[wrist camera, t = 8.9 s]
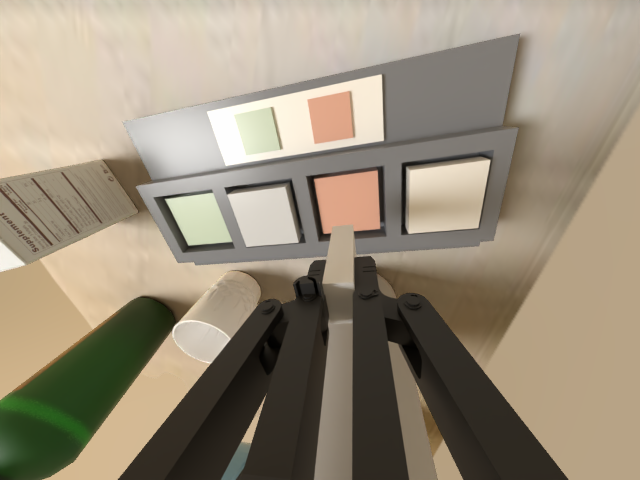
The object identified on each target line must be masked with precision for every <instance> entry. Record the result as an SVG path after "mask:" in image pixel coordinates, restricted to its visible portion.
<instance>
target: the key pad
mask: <svg viewBox="0 0 640 480" xmlns="http://www.w3.org/2000/svg"><path fill="white" fill-rule="evenodd" d="M519 37H520V34H516V35H511V36H507V37H502V38H498V39H493V40H489V41H484V42H480V43H475V44H471V45H466V46H462V47H457V48H453V49H448V50H444V51H439V52H435V53H430V54H426V55H421V56H417V57H412V58H408V59H403V60H399V61H394V62H390V63H385V64H381V65H376V66H372V67H367V68H363V69H358V70H354V71H349V72H345V73H340V74H336V75H331V76H327V77H322V78H318V79H313V80H309V81H304V82H300V83H295V84H291V85H286V86H282V87H277V88H273V89H268V90H264V91H259V92H255V93H250V94H246V95H241V96H237V97H232V98H228V99H223V100H219V101H214V102H210V103H205V104H201V105H196V106H192V107H187V108H183V109H178V110H174V111H169V112H165V113H160V114H156V115H151V116H147V117H142V118H138V119H133V120H129V121H124V122H122V123H123V125H124V127H125V129H126V130H127V132H128V134H129V136H130V138H131V140H132V142H133V144H134V146H135V148H136V150H137V152H138V154H139V156H140V158H141V160H142V162H143V164H144V166H145V168H146V170H147V171H148V173H149V175H150V177H151V179H152V181H149V182H146V183H144V184H141V185H138V186H136V188H137V190H138V192H139V194H140V195H141V197H142V199H143V201H144V203H145V204H146V206H147V208H148V210H149V212H150V213H151V215H152V217H153V219H154V221H155V222H156V224H157V226H158V228H159V230H160V231H161V233H162V235H163V237H164V239H165V241H166V242H167V244H168V246H169V248H170V250H171V251H172V253H173V255H174V257H175V259H176V260H177V262H178V263H186V262H194V263H195V265H208V264H223V263H237V262H252V261H267V260H282V259H297V258H311V257H326V256H327V254H328V249H329V243H330V238H331V233H328V234H324V233H323V228H322V222H321V216H320V211H319V205H318V199H317V194H316V188H315V182H314V178H315V177H316V175H321V174H328V173H335V172H343V171H350V170H357V169H364V168H371V167H376V168H377V170H378V190H379V213H380V229H373V230H362V231H354V238H355V247H356V254H371V253H385V252H400V251H415V250H430V249H445V248H460V247H474V246H479V245H480V242H483V241H494V236H495V232H496V227H497V223H498V218H499V214H500V209H501V205H502V200H503V196H504V191H505V187H506V183H507V178H508V174H509V169H510V165H511V160H512V156H513V151H514V147H515V142H516V138H517V133H518V129H519V127H508V126H502V125H503V120H504V115H505V110H506V104H507V99H508V94H509V89H510V84H511V78H512V73H513V68H514V63H515V58H516V52H517V47H518V42H519ZM480 156H481V157H484V158H487V159H490V166H489V171H488V177H487V182H486V188H485V193H484V199H483V204H482V210H481V215H480V221H479V226H478V228H474V229H461V230H449V231H437V232H424V233H412V234H409V233H408V231H407V229H406V227H405V218H406V166H414V165H421V164H428V163H436V162H443V161H450V160H458V159H465V158H473V157H480ZM288 182H289V183H290V187H291V191H292V196H293V200H294V204H295V209H296V213H297V218H298V222H299V226H300V231H301V235H302V236H301V238H300V241H299V243H289V244H277V245H265V246H252V247H246V245H245V242H244V239H243V236H242V234H241V231H240V228H239V226H238V223H237V220H236V217H235V215H234V212H233V209H232V207H231V204H230V201H229V198H228V196H227V194H229V193H230V192H232V191H233V190H237V189H244V188H251V187H259V186H266V185H274V184H281V183H288ZM206 190H212V191H213V194H214V196H215V199H216V201H217V204H218V206H219V209H220V211H221V214H222V216H223V219H224V221H225V224H226V226H227V229H228V232H229V234H230V237H231V239H232V242H224V243H213V244H201V245H190V246H188V244H187V242H186V240H185V238H184V236H183V234H182V232H181V230H180V228H179V226H178V224H177V222H176V220H175V218H174V216H173V214H172V212H171V210H170V208H169V206H168V204H167V202H166V200H165V199H167V198H169V197H171V196H173V195H177V194H184V193H191V192H198V191H206Z"/></svg>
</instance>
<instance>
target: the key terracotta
mask: <svg viewBox="0 0 640 480" xmlns="http://www.w3.org/2000/svg"><path fill="white" fill-rule="evenodd" d="M314 182H315V188H316V194H317V199H318V205H319V211H320V216H321V222H322V228H323V233H324V234H328V233H331V232H332V227H333V226H342V225H352V224H353V228H354V231H362V230H373V229H380V213H379V190H378V170H377V168H376V167H371V168H364V169H357V170H350V171H343V172H335V173H328V174H321V175H316V177H315V178H314Z"/></svg>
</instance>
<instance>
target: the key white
mask: <svg viewBox="0 0 640 480" xmlns="http://www.w3.org/2000/svg"><path fill="white" fill-rule="evenodd" d="M489 166H490V159H487V158H484V157H481V156H480V157H473V158H465V159H458V160H450V161H443V162H436V163H428V164H421V165H414V166H406V218H405V227H406V229H407V231H408V233H409V234H412V233H424V232H437V231H449V230H461V229H474V228H478V226H479V221H480V215H481V210H482V204H483V199H484V193H485V188H486V182H487V177H488V171H489Z"/></svg>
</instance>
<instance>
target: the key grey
mask: <svg viewBox="0 0 640 480" xmlns="http://www.w3.org/2000/svg"><path fill="white" fill-rule="evenodd" d="M227 196H228V198H229V201H230V204H231V207H232V209H233V212H234V215H235V217H236V220H237V223H238V226H239V228H240V231H241V234H242V236H243V239H244V242H245V245H246V247H252V246H265V245H277V244H289V243H299V241H300V238H301V236H302V235H301V231H300V226H299V222H298V218H297V213H296V209H295V204H294V200H293V196H292V191H291V187H290V183H289V182H288V183H281V184H274V185H266V186H259V187H251V188H244V189H237V190H233V191H232V192H230V193H229V194H227Z"/></svg>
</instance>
